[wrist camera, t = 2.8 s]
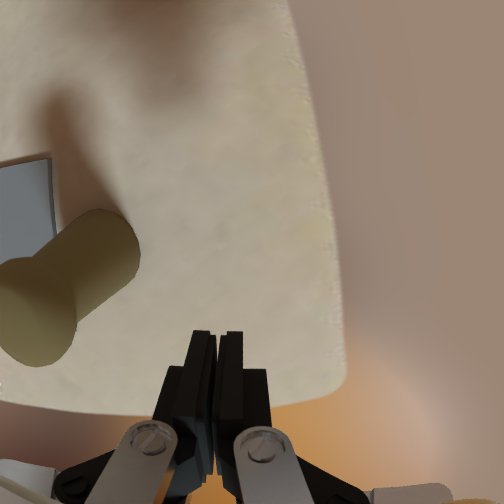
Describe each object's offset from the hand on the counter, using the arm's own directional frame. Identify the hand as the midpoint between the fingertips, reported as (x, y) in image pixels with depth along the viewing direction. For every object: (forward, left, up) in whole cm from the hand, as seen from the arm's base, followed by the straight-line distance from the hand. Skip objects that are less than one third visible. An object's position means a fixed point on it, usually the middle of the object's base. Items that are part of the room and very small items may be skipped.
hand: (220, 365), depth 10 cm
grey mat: (-1, -19, -11) cm, 22 cm away
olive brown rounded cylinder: (-1, -9, -11) cm, 14 cm away
